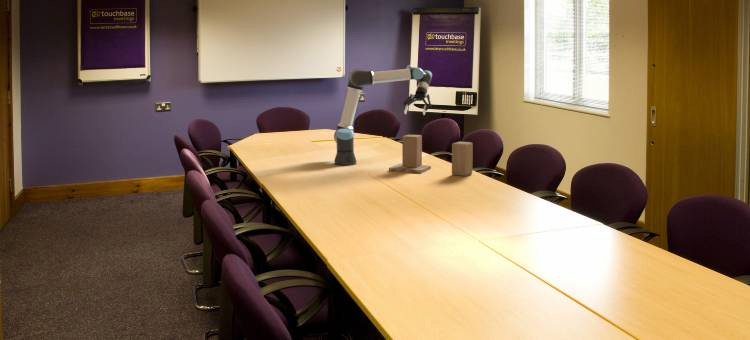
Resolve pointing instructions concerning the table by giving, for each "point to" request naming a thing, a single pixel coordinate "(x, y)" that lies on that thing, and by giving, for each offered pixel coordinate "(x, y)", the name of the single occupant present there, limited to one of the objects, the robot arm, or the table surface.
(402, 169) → the marked board
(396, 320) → the table surface
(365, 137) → the table surface
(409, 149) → the wooden block
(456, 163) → the block
